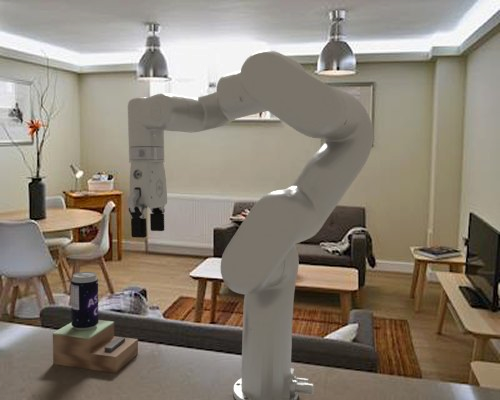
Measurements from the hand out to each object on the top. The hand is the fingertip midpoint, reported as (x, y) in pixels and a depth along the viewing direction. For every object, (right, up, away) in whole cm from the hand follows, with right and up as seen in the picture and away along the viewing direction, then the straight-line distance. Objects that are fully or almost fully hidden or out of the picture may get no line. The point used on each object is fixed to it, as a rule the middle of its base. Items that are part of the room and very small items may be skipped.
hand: (148, 233), depth 104 cm
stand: (-12, -28, +2) cm, 31 cm away
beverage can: (-15, -21, +2) cm, 26 cm away
